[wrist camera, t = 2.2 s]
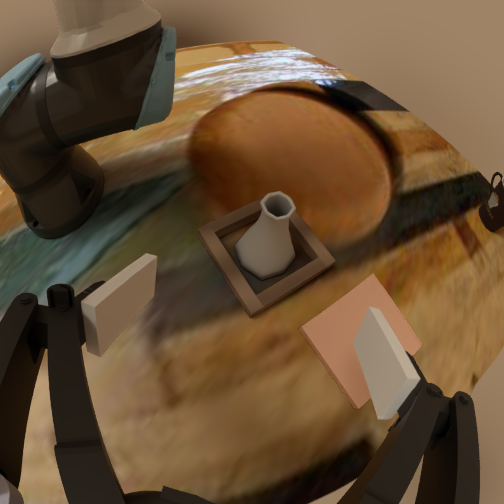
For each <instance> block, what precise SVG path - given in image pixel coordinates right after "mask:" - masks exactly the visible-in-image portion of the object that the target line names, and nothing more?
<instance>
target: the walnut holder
mask: <svg viewBox="0 0 504 504" xmlns="http://www.w3.org/2000/svg"><path fill="white" fill-rule="evenodd" d="M278 191H279V190H278ZM276 192H277V191H276ZM263 198H264V197H262V198H260V199H258V200H256V201H254V202H251V203H249V204H247V205H245V206H243V207H241V208H239V209H236V210H234V211H232V212H230V213H228V214H226V215H224V216H222V217H220V218H218V219H215V220H213V221H211V222H209V223H207V224H205V225H203V226H201V227H199V228H197V229H198V235H199V238H200V240H201V241H202V243H203V244H204V246H205V248H206V249H207V251H208V253H209V254H210V256H211V257H212V259H213V261H214V262H215V264H216V266H217V267H218V269H219V270H220V272H221V274H222V275H223V277H224V278H225V280H226V281H227V283H228V285H229V286H230V288H231V289H232V291H233V292H234V294H235V296H236V297H237V299H238V300H239V302H240V303H241V305H242V306H243V308H244V310H245V311H246V313H247V314H248V316H249V317H250V318H251V317H253V316H254V315H256V314H258V313H259V312H261V311H263V310H264V309H266V308H267V307H269V306H271V305H272V304H274V303H276V302H277V301H279V300H280V299H282V298H284V297H285V296H287V295H288V294H290V293H292V292H293V291H295V290H296V289H298V288H299V287H301V286H302V285H304V284H306V283H307V282H309V281H310V280H312V279H313V278H315V277H316V276H318V275H319V274H321V273H322V272H324V271H325V270H327V269H328V268H330V267H331V266H332V264H333V263H334V262H335V260H334V258H333V257H332V256H331V254H330V253H329V252H328V251H327V249H326V248H325V247H324V245H323V244H322V243H321V241H320V240H319V239H318V238H317V236H316V235H315V234H314V233H313V231H312V230H311V229H310V228H309V226H308V225H307V224H306V223H305V221H304V220H303V219H302V218H301V216H300V215H299V214H298V213H297V212H296V210H295V211H294V213H293V214H292V215H291V217H290V218H289V231H290V232H291V234H292V235H293V236H294V238H295V239H296V240H297V242H298V243H299V244H300V245H301V247H302V248H303V249H304V251H305V252H306V253H307V255H308V256H309V257H310V259H311V260H312V262H310V263H308V264H307V265H305V266H304V267H302V268H300V269H299V270H297V271H295V272H294V273H292V274H291V275H289V276H287V277H286V278H284V279H282V280H281V281H279V282H277V283H276V284H274V285H272V286H271V287H269V288H267V289H266V290H264V291H262V292H261V293H259V294H257V295H255V293H254V292H253V290H252V289H251V287H250V286H249V284H248V283H247V281H246V280H245V278H244V277H243V275H242V274H241V272H240V271H239V269H238V268H237V266H236V265H235V263H234V262H233V260H232V259H231V257H230V256H229V254H228V252H227V251H226V249H225V248H224V246H223V245H222V243H221V242H220V240H219V239H218V238H220V237H222V236H224V235H226V234H228V233H230V232H232V231H234V230H236V229H238V228H240V227H242V226H244V225H246V224H248V223H250V222H252V221H254V220H256V219H259V217H260V215H261V212H262V208H261V205H260V202H261V200H262V199H263Z"/></svg>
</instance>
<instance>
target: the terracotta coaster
mask: <svg viewBox="0 0 504 504" xmlns="http://www.w3.org/2000/svg"><path fill="white" fill-rule="evenodd" d="M369 307H373V308H378V309H380V311H381V312H382V314H383V315H384V317H385V319H386V320H387V322H388V324H389V325H390V327H391V328H392V330H393V332H394V333H395V335H396V337H397V338H398V340H399V342H400V344H401V345H402V347H403V349H404V350H405V351H407V352H408V353H409V354H410V355H411V356H413V355H414V354H415V353H416V352H417V351H418V350H419V349H420V347H421V346H422V344H421V343H420V341H419V339H418V338H417V336H416V335H415V333H414V332H413V330H412V329H411V327H410V325H409V324H408V322H407V321H406V319H405V318H404V316H403V315H402V313H401V312H400V310H399V309H398V308H397V306H396V305H395V303H394V302H393V300H392V299H391V297H390V296H389V295H388V293H387V292H386V290H385V289H384V288H383V286H382V285H381V283H380V282H379V281H378V279H377V278H376V277H375V275H374V274H371V275H370V276H369V277H368V278H366V279H365V280H364V281H363V282H361V283H360V284H359V285H358V286H356V287H355V288H354V289H352V290H351V291H350V292H348V293H347V294H346V295H344V296H343V297H342V298H340V299H339V300H338V301H336V302H335V303H334V304H332V305H331V306H330V307H328V308H327V309H326V310H324V311H323V312H321V313H320V314H319V315H317V316H316V317H314V318H313V319H311V320H310V321H309V322H307V323H306V324H304V325H303V326H301V327H300V328H299V330H300V331H301V333H302V334H303V335H304V337H305V338H306V340H307V341H308V343H309V344H310V346H311V347H312V348H313V350H314V351H315V353H316V354H317V356H318V357H319V359H320V360H321V361H322V363H323V364H324V366H325V367H326V369H327V370H328V371H329V373H330V374H331V376H332V377H333V379H334V380H335V382H336V383H337V384H338V386H339V387H340V389H341V390H342V392H343V393H344V394H345V396H346V397H347V399H348V400H349V402H350V403H351V404H352V406H353V407H354V408H356V409H359V408H360V407H362V406H363V405H364V404H365V403H366V402H367V401H368V400H369V399H371V395H370V392H369V389H368V386H367V383H366V380H365V377H364V374H363V371H362V368H361V365H360V362H359V359H358V356H357V353H356V351H355V348H354V345H353V341H354V339H355V337H356V335H357V332H358V330H359V328H360V326H361V324H362V321H363V319H364V317H365V315H366V312H367V310H368V308H369Z"/></svg>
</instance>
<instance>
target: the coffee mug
mask: <svg viewBox="0 0 504 504" xmlns="http://www.w3.org/2000/svg"><path fill="white" fill-rule="evenodd" d="M496 175H500V177H501V180H500V182H499V183H498V185H497V186H496V187H495V189H494V190H493V181H494V178H495V176H496ZM492 190H493V191H492ZM479 215H480V218H481V220H482V222H483V224H484V225H485V227H486V228H487V229H488V230H489V231H491V232H495V231H496V230H498V229H500V228H501V227H503V226H504V177H503V176H502V174H500V173H499V172H496V173H495V174H494V175H493V177H492V180H491V186H490V195H489V197H488V198H487V199H486V201H485V202H484V203H483V204H482V206H481V207H480V208H479Z"/></svg>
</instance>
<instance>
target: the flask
mask: <svg viewBox="0 0 504 504" xmlns="http://www.w3.org/2000/svg"><path fill="white" fill-rule="evenodd" d="M260 205H261V208H262V212H261V215H260V217H259V219H258V221H257V222H256V223H255V224H254V225H252V226H251V227H250V228H249V229H248V230H247V231H246V233H245V234H244V235H243V236H242V237H241V239H240V240H239V241H238V242H237V243H236V245H235V246H234V248H235V250H236V253H237V256H238V259H239V262H240V265H241V267H242V268H243V269H245V270H246V271H248V272H249V273H251V274H252V275H254V276H255V277H257V278H258V279H260V280H264V279H268V278H271V277H274V276H278V275H281V274H284V273H285V271H286V270H287V268H288V267H289V265H290V264H291V262H292V261H293V259H294V258H295V252H294V248H293V245H292V242H291V237H290V233H289V218H290V217H291V215H292V214H293V213H294V211H295V210H296V207H295V205H294V203H293V201H292V199H291V197H289V196H287V195H286V194H284V193H282V192H281V191H277V192H272V193H268V194H267V195H266V196H265V197H264V198H263V199H262V200H261V202H260Z"/></svg>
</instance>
